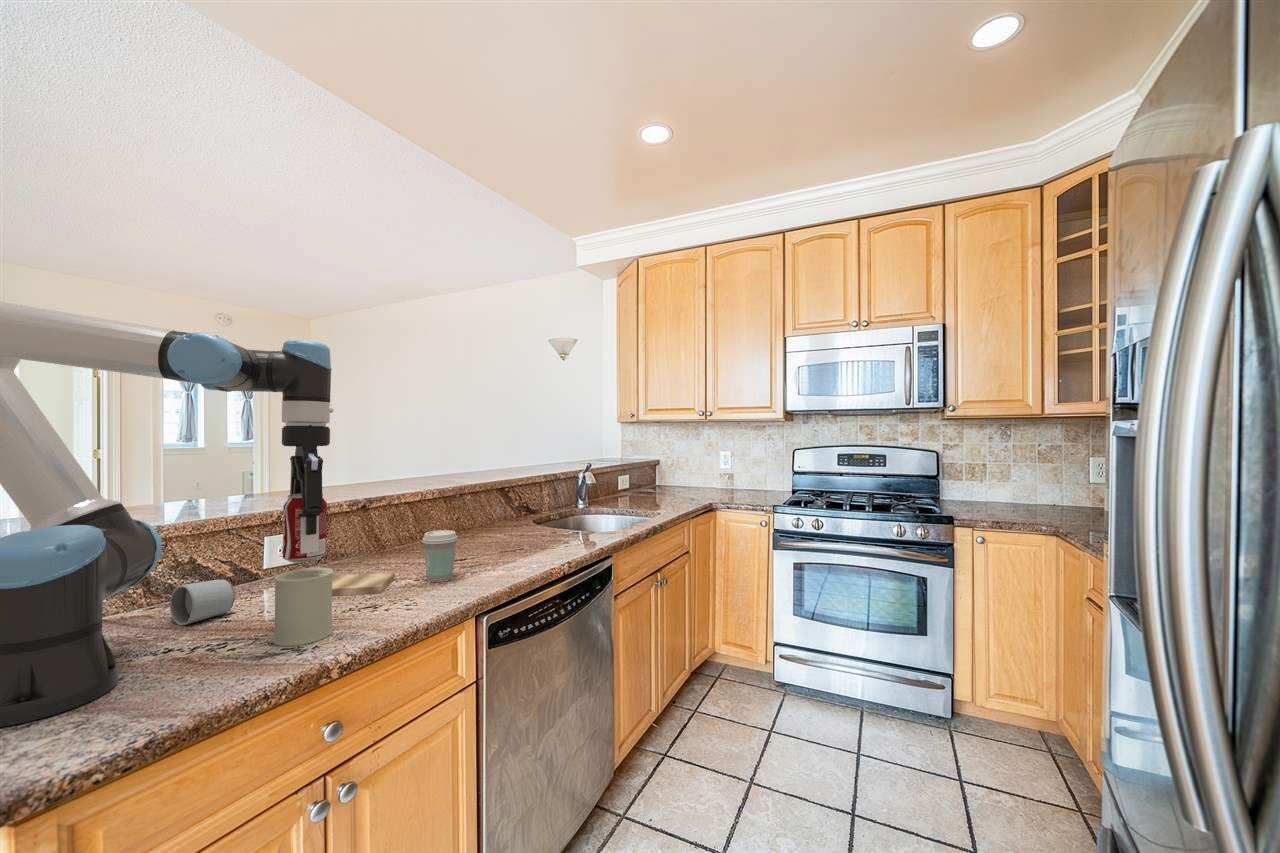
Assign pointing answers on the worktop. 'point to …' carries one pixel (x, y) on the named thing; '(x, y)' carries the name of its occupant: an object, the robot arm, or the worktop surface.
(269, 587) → the worktop surface
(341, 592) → the cutting board
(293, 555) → the soda can
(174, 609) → the grey hollow cylinder
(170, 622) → the worktop surface
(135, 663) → the worktop surface
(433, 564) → the coffee cup
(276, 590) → the can
